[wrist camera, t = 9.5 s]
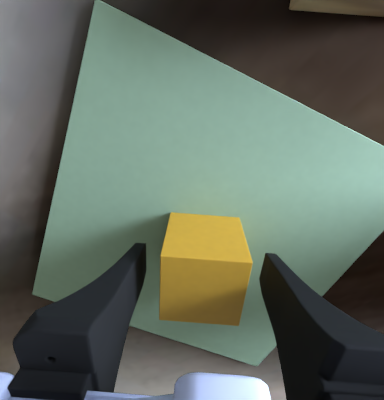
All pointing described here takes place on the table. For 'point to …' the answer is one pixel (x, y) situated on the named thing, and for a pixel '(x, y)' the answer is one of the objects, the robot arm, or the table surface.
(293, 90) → the table surface
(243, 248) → the mustard cube
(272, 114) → the sage mat
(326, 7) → the birch block
